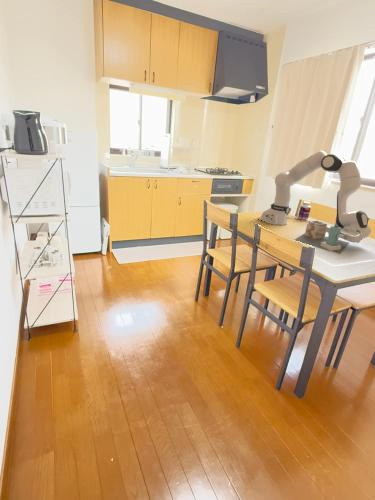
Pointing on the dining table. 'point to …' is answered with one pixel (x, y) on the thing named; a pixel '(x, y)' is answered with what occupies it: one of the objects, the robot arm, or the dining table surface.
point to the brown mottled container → (316, 229)
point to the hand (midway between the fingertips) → (332, 234)
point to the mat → (317, 242)
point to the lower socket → (330, 246)
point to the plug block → (333, 235)
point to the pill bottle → (304, 211)
